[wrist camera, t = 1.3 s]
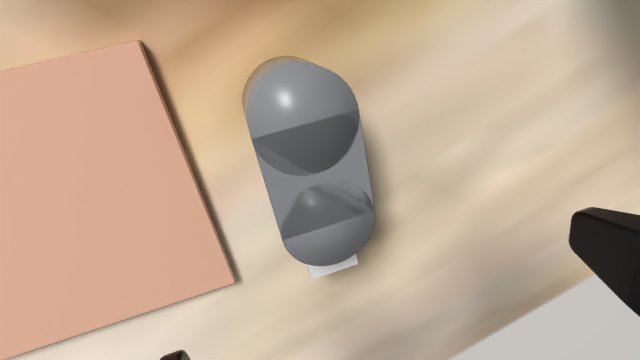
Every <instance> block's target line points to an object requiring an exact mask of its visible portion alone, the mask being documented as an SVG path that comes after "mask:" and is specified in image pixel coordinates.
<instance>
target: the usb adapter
mask: <svg viewBox="0 0 640 360" xmlns="http://www.w3.org/2000/svg"><path fill="white" fill-rule="evenodd" d="M243 110H244V114H245V118H246V121H247V125H248V128H249V132H250V136H251V139H252V143H253V146H254V149H255V152H256V156H257V159H258V162H259V165H260V169H261V172H262V175H263V179H264V182H265V185H266V188H267V192H268V195H269V198H270V202H271V205H272V208H273V211H274V215H275V218H276V221H277V224H278V228H279V231H280V234H281V238H282V241H283V243H284V246H285V248H286V249H287V251H288V252H289V253H290V254H291V255H292V256H293V257H294V258H295V259H297V260H298V261H300V262H302V263H305V264H307V267H308V270H309V273H310V275H311V278H312V280H313V279H316V278H319V277H322V276H325V275H327V274H330V273H333V272H336V271H339V270H342V269H345V268H348V267H351V266H354V265H357V264H358V260H357V255H356V253H357V252H358V251H359V250H360V249H361V248H362V247H363V246H364V245H365V244H366V242H367V241H368V239H369V238H370V235H371V233H372V231H373V228H374V223H375V210H374V204H373V197H372V191H371V185H370V178H369V172H368V166H367V159H366V153H365V146H364V140H363V134H362V127H361V121H360V115H359V109H358V104H357V101H356V98H355V95H354V94H353V92H352V90H351V88H350V87H349V86H348V84H347V83H346V82H345V81H344V80H343V79H342V78H341V77H340V76H338V75H337V74H336V73H334V72H332V71H330V70H328V69H326V68H323V67H321V66H318V65H316V64H313V63H311V62H308V61H306V60H303V59H301V58H297V57H292V56H281V57H276V58H273V59H270V60H268V61H266V62H264V63H263V64H261V65H260V66H259V67H257V68H256V69H255V70H254V72H253V73H252V74H251V75H250V77H249V78H248V80H247V83H246V85H245V88H244V92H243Z"/></svg>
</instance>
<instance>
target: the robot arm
mask: <svg viewBox="0 0 640 360" xmlns="http://www.w3.org/2000/svg"><path fill="white" fill-rule="evenodd" d="M569 245H570V247H571V249H572V250H573V251H574V252H575V254H576V255H577V256H578V257H579V258H580V259H581V260H582V261H583V262H584V263H585V264H586V265H587V266H588V267H589V268H590V269H591V270H592V271H593V272H594V273H595V274H596V275H597V276H598V277H599V278H600V279H601V280H602V281H603V282H604V283H605V284H606V285H607V286H608V287H609V288H610V289H611V290H612V291H613V292H614V293H615V294H616V295H617V296H618V297H619V298H620V299H621V300H622V301H623V302H624V303H625V304H626V305H627V306H628V307H629V308H631V309H632V310H633V311H634V312H635V313H636V314H637V315H638V316H640V215H636V214H630V213H624V212H619V211H613V210H607V209H602V208H596V207H589V208H586V209H583V210H580V211H577V212H575V213H574V214H573V216H572V219H571V226H570V234H569ZM160 360H190V358H189V356H188V354H187V353H186V352H185V351H184V350H179V351H176V352H173V353H170V354H167V355H165V356H163V357H162V358H161V359H160Z"/></svg>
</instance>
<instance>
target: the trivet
mask: <svg viewBox="0 0 640 360" xmlns="http://www.w3.org/2000/svg"><path fill="white" fill-rule="evenodd" d="M233 283H235V278H234V274H233V271H232V269H231V266H230V264H229V261H228V259H227V256H226V254H225V251H224V249H223V246H222V243H221V241H220V238H219V236H218V233H217V231H216V228H215V226H214V223H213V221H212V218H211V216H210V213H209V211H208V208H207V206H206V203H205V201H204V198H203V196H202V193H201V191H200V188H199V186H198V183H197V181H196V178H195V176H194V173H193V171H192V168H191V166H190V163H189V161H188V158H187V156H186V153H185V151H184V148H183V146H182V143H181V141H180V138H179V136H178V133H177V131H176V128H175V126H174V123H173V121H172V118H171V116H170V113H169V111H168V108H167V106H166V103H165V101H164V98H163V96H162V93H161V91H160V88H159V86H158V83H157V81H156V78H155V76H154V73H153V71H152V68H151V66H150V63H149V61H148V58H147V56H146V53H145V51H144V48H143V46H142V43H141V41H140V40H138V41H133V42H129V43H124V44H120V45H116V46H111V47H107V48H102V49H98V50H93V51H89V52H84V53H80V54H75V55H71V56H67V57H62V58H58V59H53V60H49V61H44V62H40V63H35V64H31V65H27V66H22V67H18V68H13V69H9V70H4V71H0V360H4V359H7V358H10V357H13V356H16V355H19V354H22V353H25V352H28V351H31V350H34V349H37V348H40V347H43V346H46V345H49V344H52V343H55V342H58V341H61V340H64V339H67V338H70V337H73V336H76V335H79V334H82V333H85V332H88V331H91V330H94V329H97V328H100V327H103V326H106V325H109V324H112V323H116V322H119V321H122V320H125V319H128V318H131V317H134V316H137V315H140V314H143V313H146V312H149V311H152V310H155V309H158V308H161V307H164V306H167V305H170V304H173V303H176V302H179V301H182V300H185V299H188V298H191V297H194V296H197V295H200V294H203V293H206V292H209V291H212V290H215V289H218V288H221V287H224V286H227V285H230V284H233Z"/></svg>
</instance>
